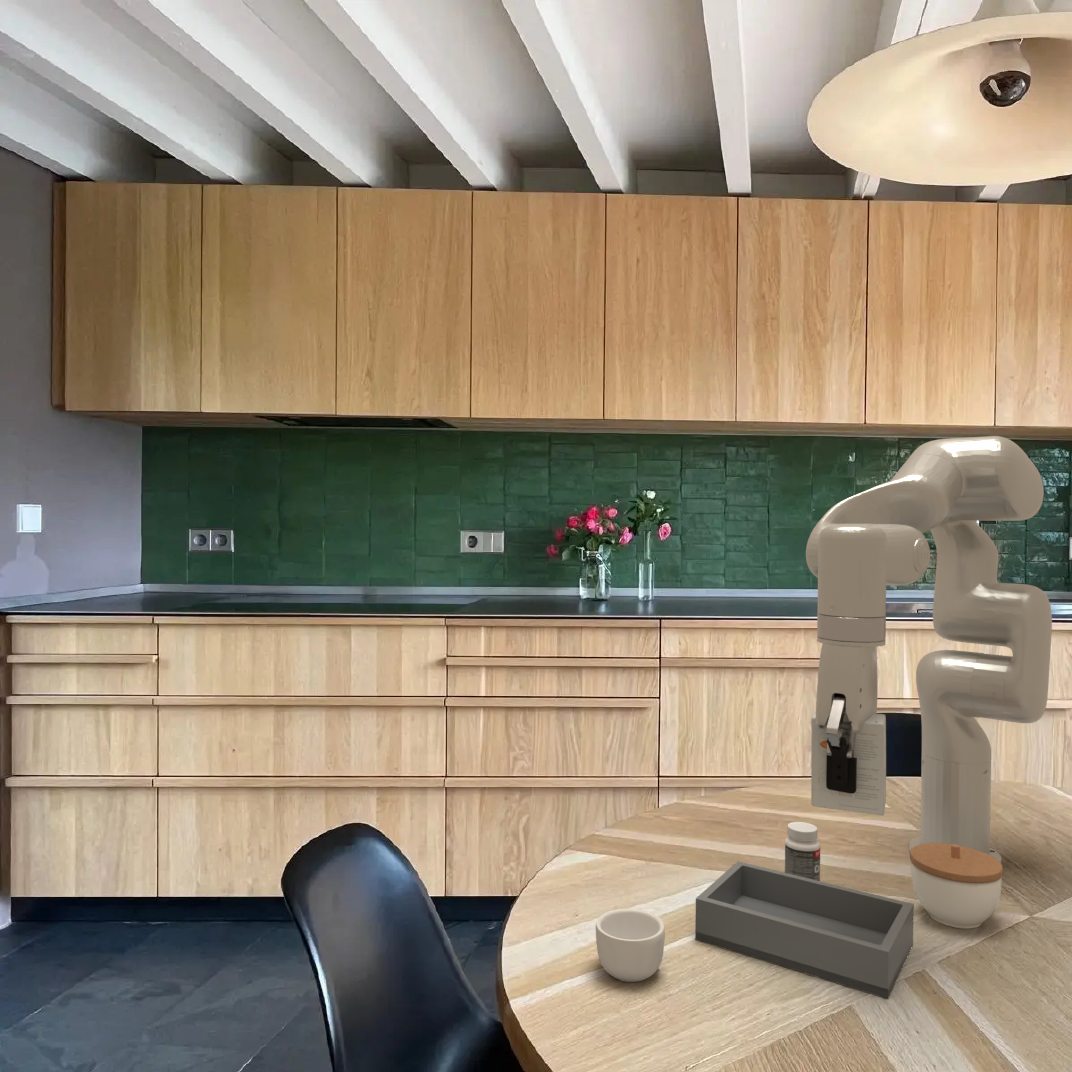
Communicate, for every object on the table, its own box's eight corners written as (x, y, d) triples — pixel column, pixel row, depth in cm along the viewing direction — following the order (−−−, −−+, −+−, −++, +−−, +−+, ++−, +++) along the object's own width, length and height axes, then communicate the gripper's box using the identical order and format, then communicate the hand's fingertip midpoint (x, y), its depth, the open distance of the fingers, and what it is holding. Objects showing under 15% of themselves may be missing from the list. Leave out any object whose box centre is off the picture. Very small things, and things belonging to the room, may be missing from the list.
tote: (737, 897, 113) (737, 861, 113) (913, 945, 100) (913, 904, 100) (695, 939, 101) (695, 898, 101) (887, 998, 89) (888, 952, 89)
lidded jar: (901, 922, 106) (902, 849, 106) (917, 892, 115) (918, 824, 115) (997, 946, 100) (998, 869, 100) (1005, 913, 109) (1006, 841, 109)
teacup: (639, 999, 88) (640, 948, 88) (581, 973, 93) (581, 925, 93) (686, 962, 96) (687, 915, 96) (630, 940, 101) (631, 896, 101)
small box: (886, 802, 98) (887, 714, 98) (884, 817, 93) (885, 723, 93) (815, 793, 102) (816, 707, 102) (809, 806, 97) (811, 716, 97)
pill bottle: (822, 895, 114) (822, 834, 114) (786, 891, 115) (786, 831, 115) (817, 880, 118) (818, 822, 118) (782, 877, 119) (783, 819, 119)
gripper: (837, 621, 107) (835, 761, 107) (796, 635, 92) (794, 796, 93) (900, 626, 102) (898, 771, 103) (867, 641, 88) (864, 810, 88)
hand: (848, 782), depth 98 cm, fingers closed on small box, 6 cm apart
